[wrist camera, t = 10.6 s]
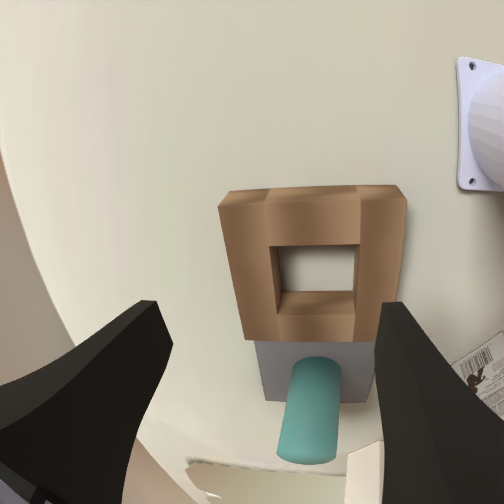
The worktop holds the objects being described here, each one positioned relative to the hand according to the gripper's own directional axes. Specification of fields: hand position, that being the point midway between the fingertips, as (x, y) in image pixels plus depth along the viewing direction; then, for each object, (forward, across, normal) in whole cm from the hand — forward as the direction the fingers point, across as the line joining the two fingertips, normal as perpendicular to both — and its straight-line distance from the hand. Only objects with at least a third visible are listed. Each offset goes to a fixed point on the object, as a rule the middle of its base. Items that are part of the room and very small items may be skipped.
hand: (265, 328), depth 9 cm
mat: (+10, -1, +15) cm, 18 cm away
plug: (+10, -1, +15) cm, 18 cm away
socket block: (+10, -1, +4) cm, 11 cm away
